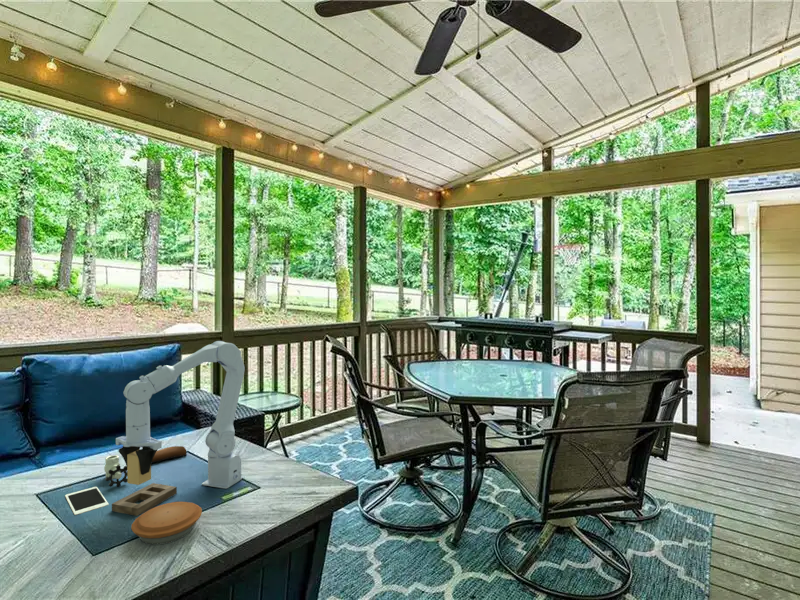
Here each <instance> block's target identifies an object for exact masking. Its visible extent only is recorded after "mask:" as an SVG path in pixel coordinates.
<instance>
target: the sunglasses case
mask: <svg viewBox="0 0 800 600" xmlns="http://www.w3.org/2000/svg"><path fill="white" fill-rule="evenodd" d="M185 455H186V456H187V449H186V447H185V446H183V445H179V446H177V445H174V446H168V447H164V448H160V449H158V450H157V451H156V453H155V455H154V457H153V460H152V463H157V462H161V461H166V460H170V459H174V458H178V457H181V456H185Z"/></svg>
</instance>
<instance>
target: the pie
mask: <svg viewBox="0 0 800 600" xmlns="http://www.w3.org/2000/svg"><path fill="white" fill-rule="evenodd" d="M202 513H203V509H202V507H201V506H199V505H198V504H196V503H194V502H189V501H172V502H168V503H164V504H158V505H156V506H154V507H152V508H150V509H149V510H147V511H145V512H143V513H142V514H140V515H138V516H137V517H136V518H135V520H134V521H133V522H132V523H131V531H132V532H133V534H135V535H136V536H137V537H138V538H139V539H140V540H141V541H142V542H143V543H145V544H147V545H154V546H155V545H164V544H168V543H169V544H170V543H171V542H172V543H173V542H175V541H178V540H179V539H182V538H184V537H185V536H187V535H189V534H190V533H191V532H192V530H193V528H194V526H195V525H196V523H197V522H198V521H199V519H200V518H201V517H202Z"/></svg>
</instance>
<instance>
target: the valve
mask: <svg viewBox="0 0 800 600" xmlns="http://www.w3.org/2000/svg"><path fill="white" fill-rule="evenodd" d="M119 459H120V456H119V455H117V454H115V455H114V454H113V455H109V456H107V457H105V459H104V460H105V462H104V463H105V465H104V468H103V470H104V473H105V481H106V482H109V481H110V482H109V483H108V486H109V487H110V488H111V487H114V485H115V487H117V488H119V487H121V485H122V484H121V483H125V484H126V483H128V478H127V466H126V465H124V466H123V468H121V464H120V460H119ZM123 473H124V476H123V475H122V474H123ZM114 479H116V480H114Z"/></svg>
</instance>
